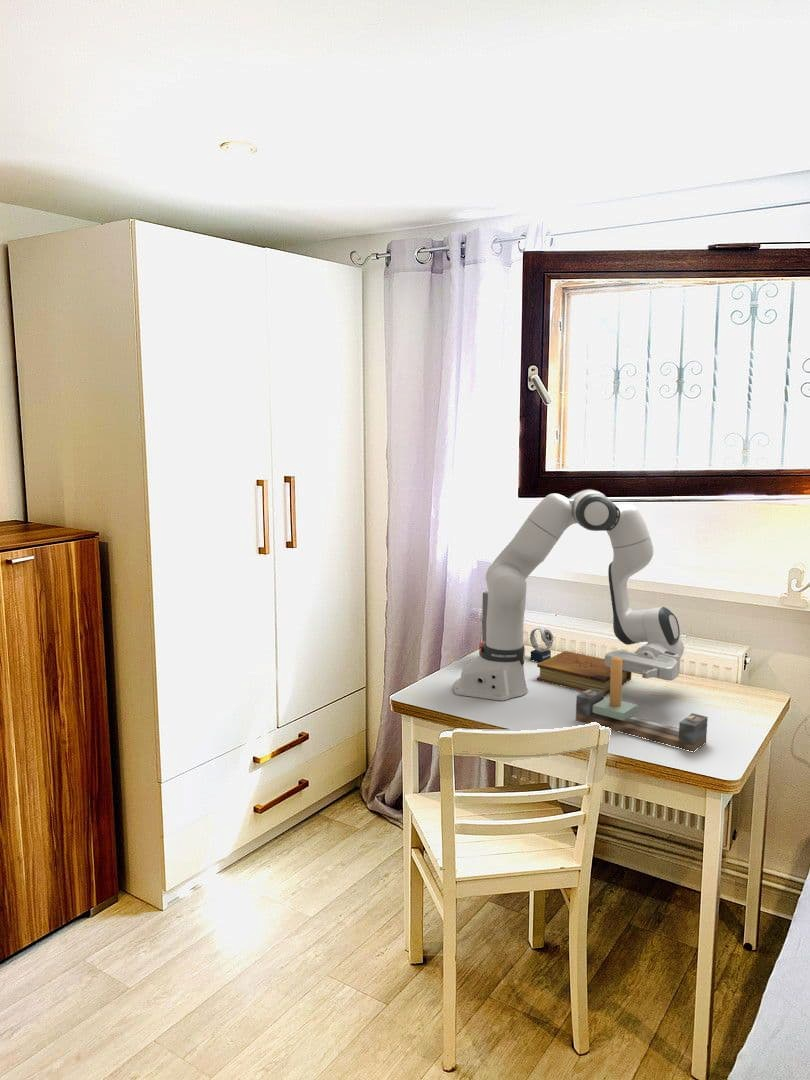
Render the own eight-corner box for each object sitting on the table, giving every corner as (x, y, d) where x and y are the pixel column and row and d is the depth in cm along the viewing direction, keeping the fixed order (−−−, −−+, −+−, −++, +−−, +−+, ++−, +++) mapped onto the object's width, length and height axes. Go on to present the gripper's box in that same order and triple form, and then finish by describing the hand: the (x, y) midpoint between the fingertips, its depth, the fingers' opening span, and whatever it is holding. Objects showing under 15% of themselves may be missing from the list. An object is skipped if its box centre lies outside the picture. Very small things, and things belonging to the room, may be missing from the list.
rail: (575, 720, 227) (576, 694, 225) (590, 711, 233) (590, 686, 231) (693, 752, 205) (695, 724, 204) (706, 742, 211) (707, 715, 210)
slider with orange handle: (592, 712, 223) (594, 658, 220) (606, 704, 229) (608, 652, 226) (623, 720, 217) (625, 665, 214) (637, 712, 223) (639, 658, 220)
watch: (546, 664, 275) (546, 632, 273) (526, 659, 280) (526, 627, 278) (555, 660, 279) (556, 628, 277) (535, 655, 284) (536, 624, 282)
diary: (631, 681, 259) (632, 664, 258) (604, 698, 245) (604, 679, 244) (565, 666, 274) (566, 649, 273) (536, 681, 260) (537, 663, 259)
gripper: (617, 642, 243) (594, 653, 233) (685, 656, 230) (664, 668, 220) (616, 662, 245) (594, 674, 234) (683, 677, 231) (662, 690, 221)
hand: (628, 671), depth 227 cm, fingers open, 8 cm apart
